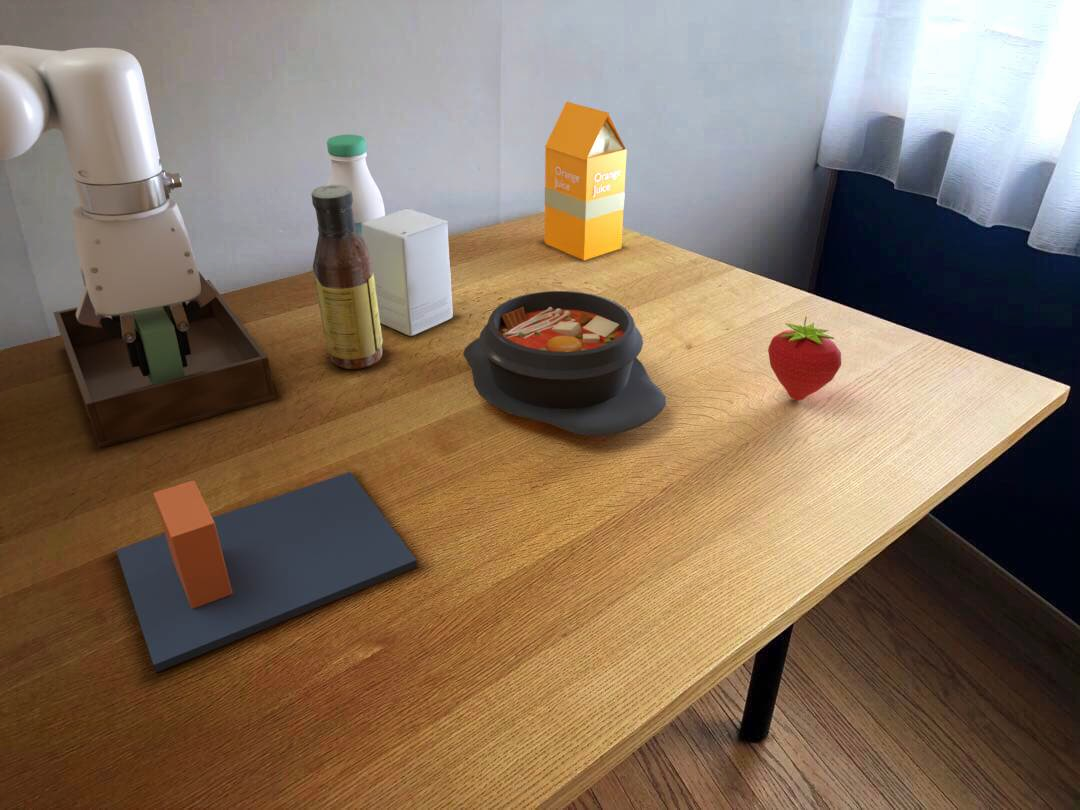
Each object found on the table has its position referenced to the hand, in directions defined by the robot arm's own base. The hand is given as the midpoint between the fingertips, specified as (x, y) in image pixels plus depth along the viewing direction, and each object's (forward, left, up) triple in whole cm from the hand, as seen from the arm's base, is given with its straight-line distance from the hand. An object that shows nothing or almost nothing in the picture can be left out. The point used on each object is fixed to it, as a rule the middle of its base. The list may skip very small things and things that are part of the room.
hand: (162, 364), depth 89 cm
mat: (+1, -31, -4) cm, 31 cm away
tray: (+1, +5, -4) cm, 6 cm away
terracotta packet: (-4, -31, -3) cm, 32 cm away
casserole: (+36, -21, -4) cm, 42 cm away
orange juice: (+62, +12, -4) cm, 63 cm away
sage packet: (0, 0, -2) cm, 2 cm away
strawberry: (+56, -36, -4) cm, 66 cm away
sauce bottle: (+20, -3, -4) cm, 20 cm away
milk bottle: (+28, +14, -4) cm, 31 cm away
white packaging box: (+30, +3, -4) cm, 30 cm away
